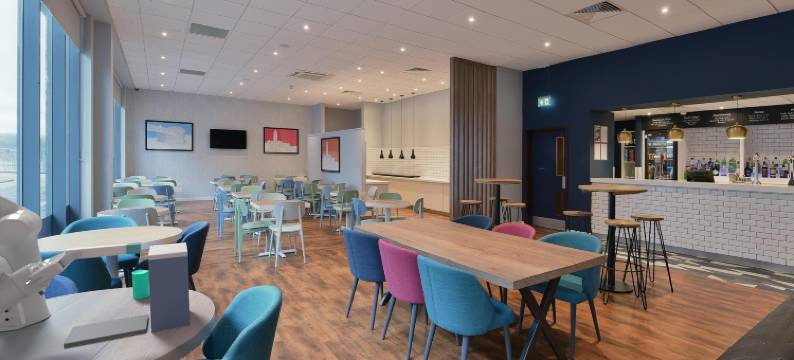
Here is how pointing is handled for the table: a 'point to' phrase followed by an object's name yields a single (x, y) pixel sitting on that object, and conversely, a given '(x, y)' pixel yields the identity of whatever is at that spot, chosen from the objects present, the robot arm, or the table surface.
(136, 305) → the table surface
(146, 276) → the candle
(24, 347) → the table surface
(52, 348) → the table surface
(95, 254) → the white and teal box
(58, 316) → the table surface
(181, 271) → the tall slate-blue pillar
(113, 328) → the board
